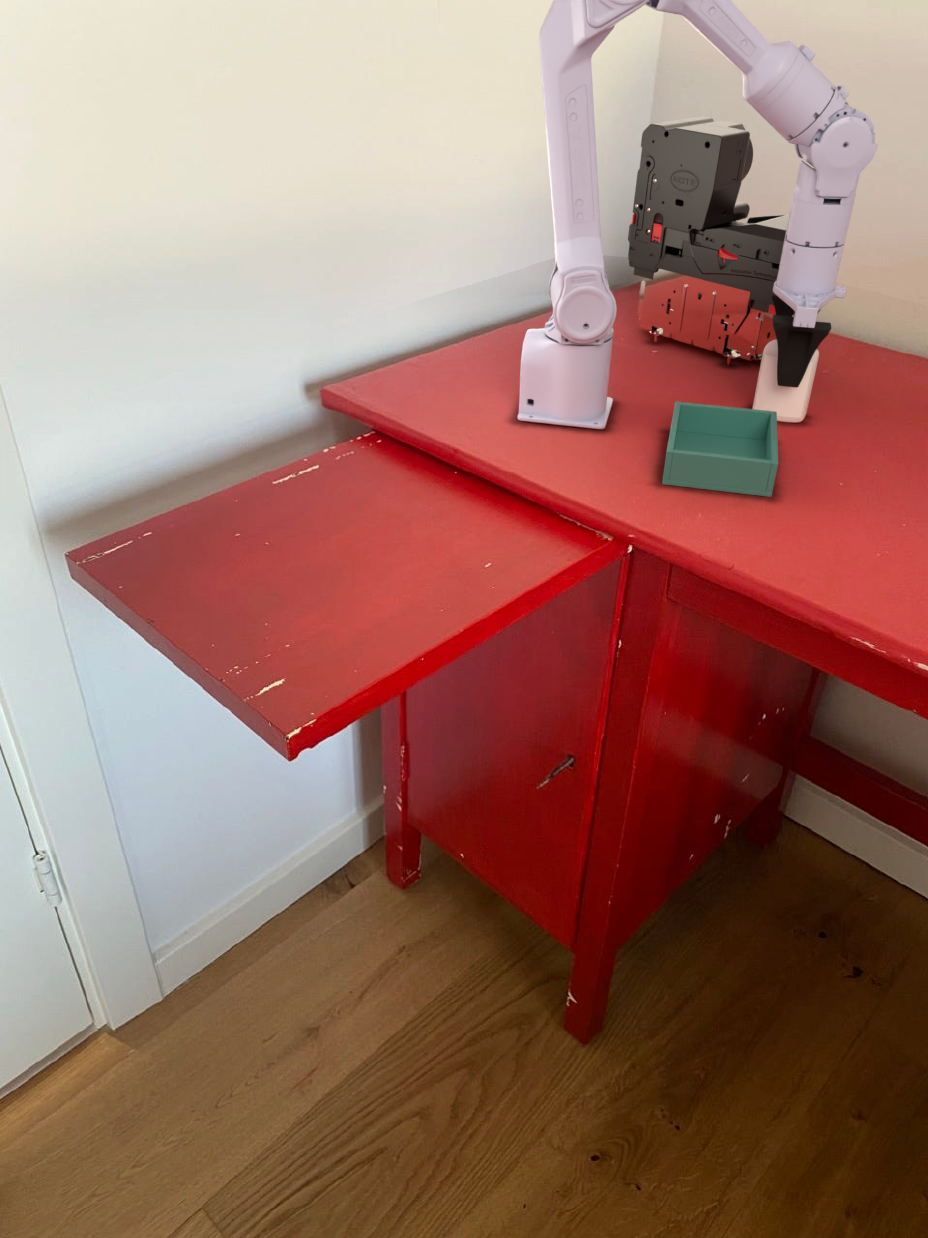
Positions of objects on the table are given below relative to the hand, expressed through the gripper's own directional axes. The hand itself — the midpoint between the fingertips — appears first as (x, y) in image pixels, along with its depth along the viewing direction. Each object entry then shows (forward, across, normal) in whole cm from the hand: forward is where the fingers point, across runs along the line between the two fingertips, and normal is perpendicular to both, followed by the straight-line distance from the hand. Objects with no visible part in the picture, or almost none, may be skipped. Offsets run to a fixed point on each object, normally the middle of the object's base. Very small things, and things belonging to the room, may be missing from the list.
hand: (787, 372), depth 104 cm
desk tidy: (+5, -14, +6) cm, 16 cm away
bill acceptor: (+5, +21, +8) cm, 23 cm away
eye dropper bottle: (+5, 0, 0) cm, 5 cm away
